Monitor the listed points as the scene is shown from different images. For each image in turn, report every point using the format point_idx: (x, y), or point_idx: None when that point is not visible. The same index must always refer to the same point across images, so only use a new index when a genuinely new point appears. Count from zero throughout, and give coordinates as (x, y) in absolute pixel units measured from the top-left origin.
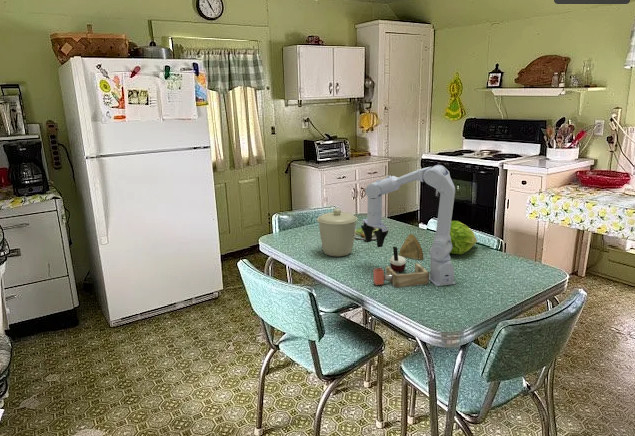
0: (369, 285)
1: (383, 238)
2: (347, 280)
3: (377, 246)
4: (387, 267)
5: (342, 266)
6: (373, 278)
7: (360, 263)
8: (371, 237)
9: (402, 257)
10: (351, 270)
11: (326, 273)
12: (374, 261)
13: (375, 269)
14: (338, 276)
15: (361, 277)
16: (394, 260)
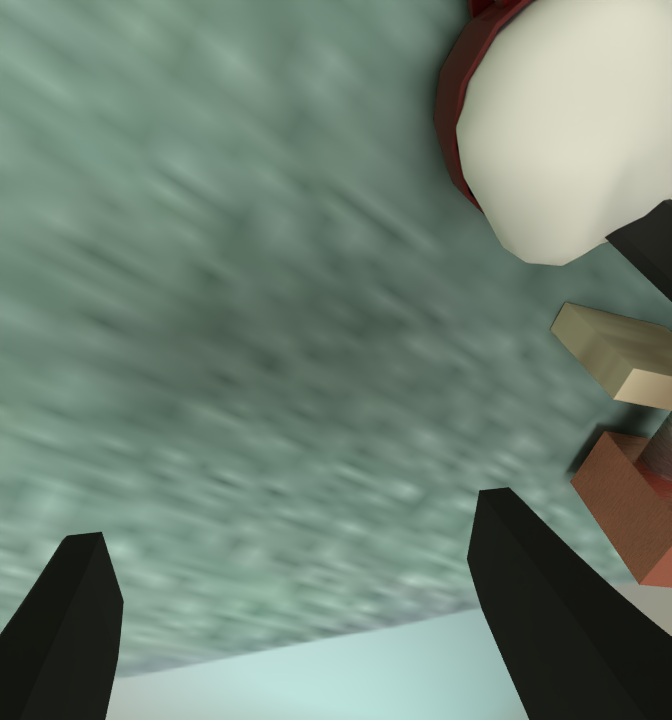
0: (567, 506)
1: (635, 649)
2: (389, 586)
3: (474, 569)
4: (643, 399)
5: (72, 528)
6: (586, 505)
7: (48, 356)
8: (72, 616)
9: (669, 50)
10: (213, 502)
11: (182, 651)
12: (35, 160)
13: (665, 578)
14: (284, 609)
15: (405, 495)
16: (612, 238)
